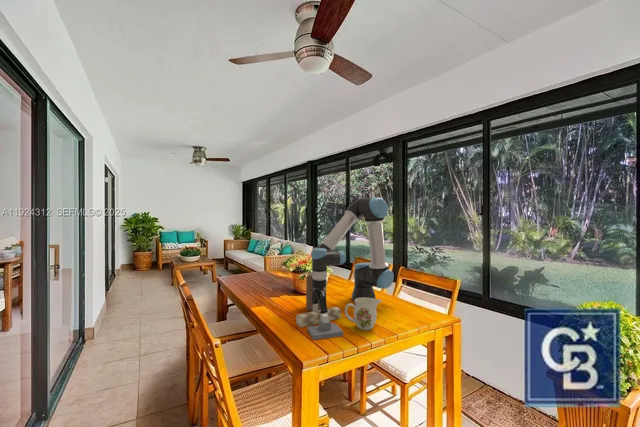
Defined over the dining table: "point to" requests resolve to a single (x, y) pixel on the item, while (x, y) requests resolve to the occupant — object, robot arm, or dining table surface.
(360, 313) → the floral ceramic pitcher
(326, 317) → the fulcrum
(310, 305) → the wooden block
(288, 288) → the dining table surface
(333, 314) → the batten
